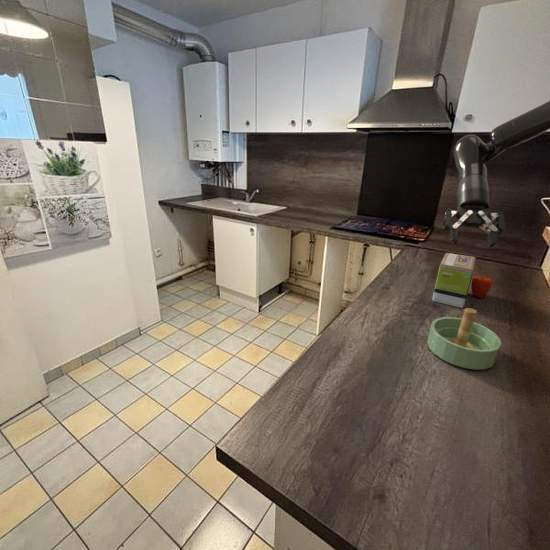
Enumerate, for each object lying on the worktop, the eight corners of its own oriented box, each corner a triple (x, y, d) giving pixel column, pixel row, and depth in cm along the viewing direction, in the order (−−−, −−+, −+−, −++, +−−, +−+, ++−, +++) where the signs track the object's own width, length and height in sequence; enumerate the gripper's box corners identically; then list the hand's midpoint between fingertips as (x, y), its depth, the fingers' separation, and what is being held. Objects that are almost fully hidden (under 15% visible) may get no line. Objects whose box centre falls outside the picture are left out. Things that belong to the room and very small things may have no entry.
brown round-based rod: (456, 340, 82) (467, 303, 77) (477, 353, 77) (490, 313, 72) (441, 345, 80) (451, 307, 75) (461, 358, 75) (474, 318, 70)
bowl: (453, 330, 88) (458, 312, 85) (508, 362, 74) (515, 342, 72) (414, 341, 82) (418, 323, 80) (465, 378, 69) (472, 357, 67)
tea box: (437, 286, 116) (446, 251, 110) (466, 293, 111) (477, 256, 105) (431, 301, 105) (440, 262, 99) (463, 309, 99) (475, 269, 94)
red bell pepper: (465, 291, 112) (470, 273, 109) (483, 292, 111) (488, 274, 108) (471, 298, 107) (477, 280, 104) (490, 300, 106) (496, 281, 103)
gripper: (448, 185, 82) (447, 235, 77) (508, 187, 78) (511, 239, 73) (441, 201, 89) (439, 248, 84) (495, 204, 85) (497, 253, 79)
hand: (473, 244), depth 78 cm, fingers open, 8 cm apart
